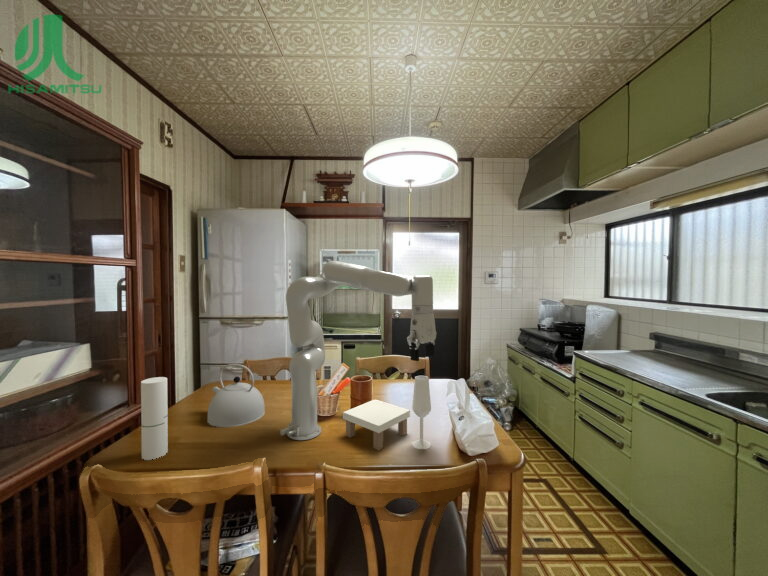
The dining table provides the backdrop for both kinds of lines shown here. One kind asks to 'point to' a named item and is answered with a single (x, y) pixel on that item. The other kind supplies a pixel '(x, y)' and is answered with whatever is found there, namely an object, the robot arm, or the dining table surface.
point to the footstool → (376, 419)
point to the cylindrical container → (154, 418)
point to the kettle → (235, 403)
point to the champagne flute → (421, 407)
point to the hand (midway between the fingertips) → (422, 358)
